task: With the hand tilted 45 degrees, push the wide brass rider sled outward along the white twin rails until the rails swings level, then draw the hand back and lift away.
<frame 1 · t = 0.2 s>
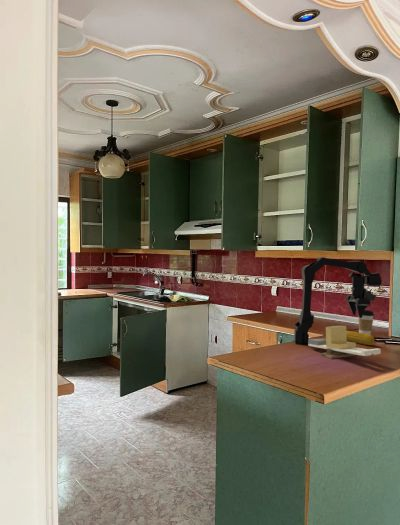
hand: (357, 316, 194), 15 cm above the table, tool pointing down, fingers open, 9 cm apart
brass rider: (340, 347, 173), point 4 cm above the table, tilted 6°, touching white twin rails
coffee cup: (364, 336, 219), on the table
white twin rails: (342, 346, 173), point 5 cm above the table, hinge at -6.2°, touching brass rider
food: (353, 342, 203), on the table
beam stand: (338, 355, 175), on the table
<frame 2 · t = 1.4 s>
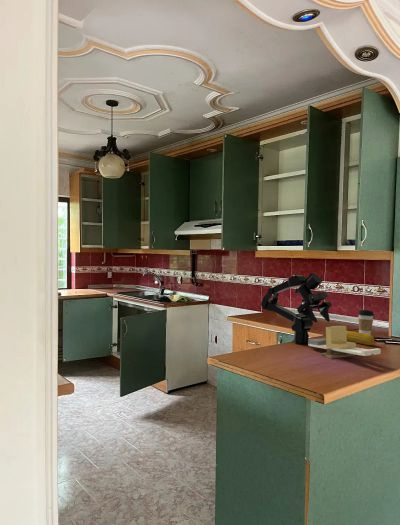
hand: (322, 321, 184), 13 cm above the table, tool tilted 45°, fingers open, 8 cm apart
nothing on the table moved.
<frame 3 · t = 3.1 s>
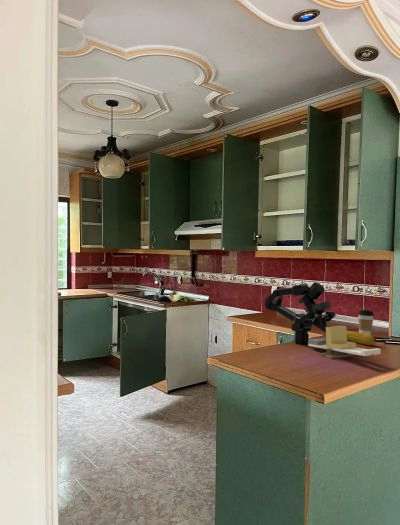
hand: (326, 332, 181), 9 cm above the table, tool tilted 45°, fingers closed
nothing on the table moved.
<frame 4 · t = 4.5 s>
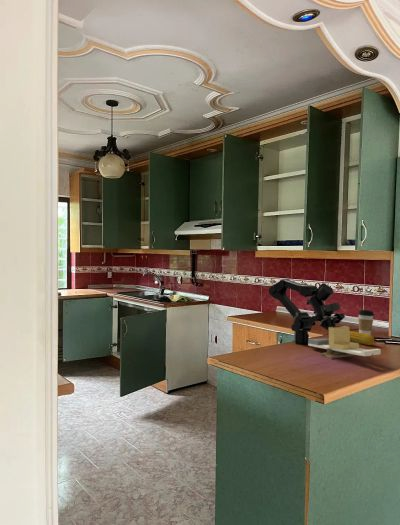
hand: (336, 334, 176), 9 cm above the table, tool tilted 45°, fingers closed, pressing on brass rider
brass rider: (344, 347, 172), point 4 cm above the table, tilted 6°, touching gripper
white twin rails: (342, 346, 173), point 5 cm above the table, hinge at -5.7°
everything else where it was.
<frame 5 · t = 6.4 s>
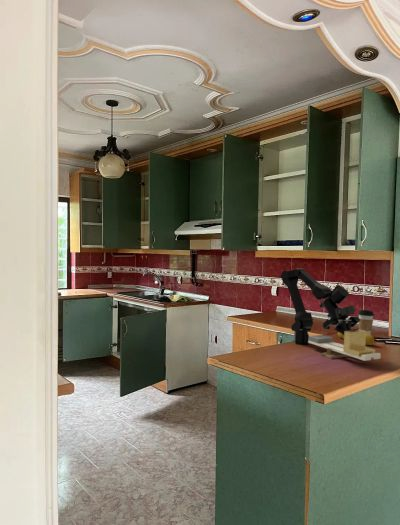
hand: (351, 338, 168), 9 cm above the table, tool tilted 45°, fingers closed, pressing on brass rider
brass rider: (359, 352, 165), point 4 cm above the table, touching white twin rails, gripper
white twin rails: (342, 346, 173), point 4 cm above the table, hinge at 0.1°, touching brass rider
everything else where it was.
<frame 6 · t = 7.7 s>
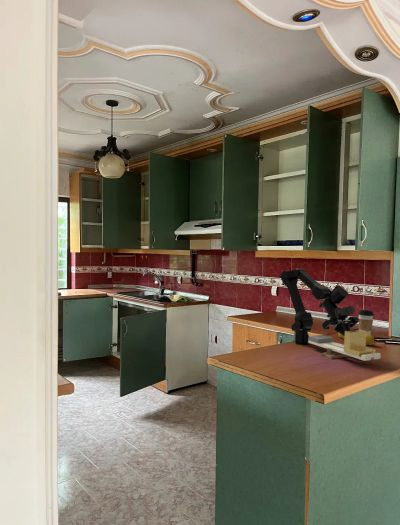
hand: (350, 339, 169), 9 cm above the table, tool tilted 45°, fingers closed
brass rider: (359, 353, 165), point 4 cm above the table, touching white twin rails
everything else where it was.
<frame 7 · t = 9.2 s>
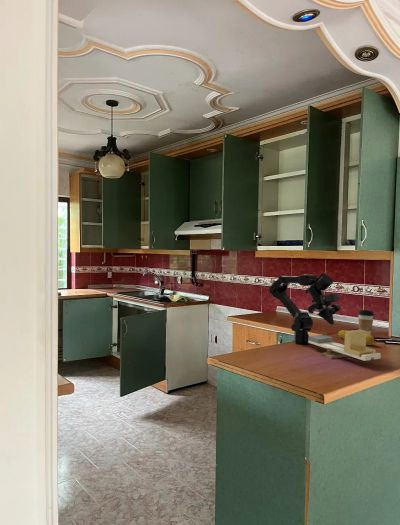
hand: (332, 324, 178), 13 cm above the table, tool tilted 40°, fingers closed
nothing on the table moved.
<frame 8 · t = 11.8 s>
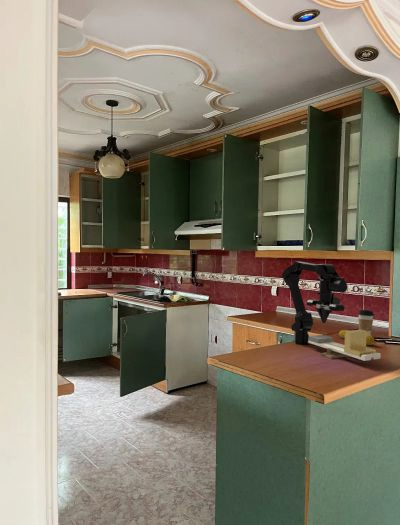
hand: (324, 323, 182), 13 cm above the table, tool pointing down, fingers closed
at the end: white twin rails at +0° (first picture: -6°); brass rider tilted 0°; brass rider moved 10.4 cm from its start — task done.
